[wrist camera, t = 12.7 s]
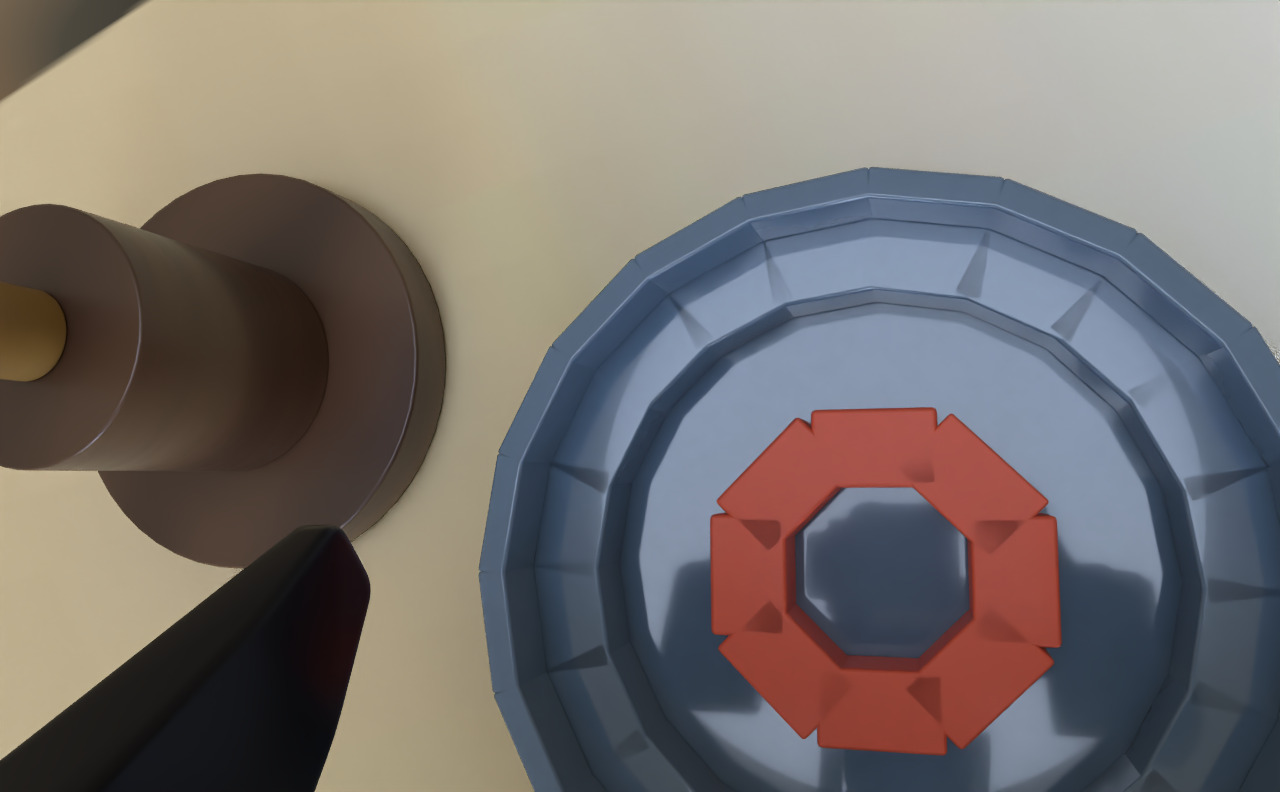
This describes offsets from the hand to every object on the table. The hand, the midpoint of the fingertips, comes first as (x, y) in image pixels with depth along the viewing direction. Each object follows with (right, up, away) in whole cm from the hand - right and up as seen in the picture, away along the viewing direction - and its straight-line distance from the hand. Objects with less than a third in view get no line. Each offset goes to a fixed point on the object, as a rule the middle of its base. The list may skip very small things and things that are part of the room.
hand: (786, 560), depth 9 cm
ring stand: (-11, +2, +17) cm, 21 cm away
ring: (+4, -2, +12) cm, 13 cm away
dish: (+4, -2, +13) cm, 14 cm away
